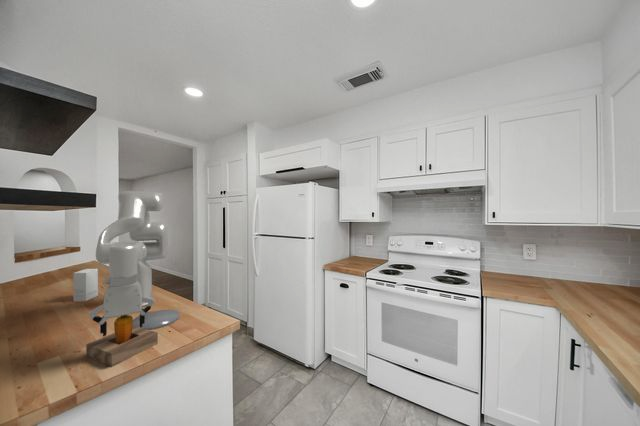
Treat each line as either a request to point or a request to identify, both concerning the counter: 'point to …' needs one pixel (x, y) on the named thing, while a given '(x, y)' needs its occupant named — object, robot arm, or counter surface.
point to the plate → (157, 319)
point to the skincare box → (85, 284)
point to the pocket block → (121, 346)
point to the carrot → (123, 328)
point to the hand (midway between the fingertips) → (123, 330)
